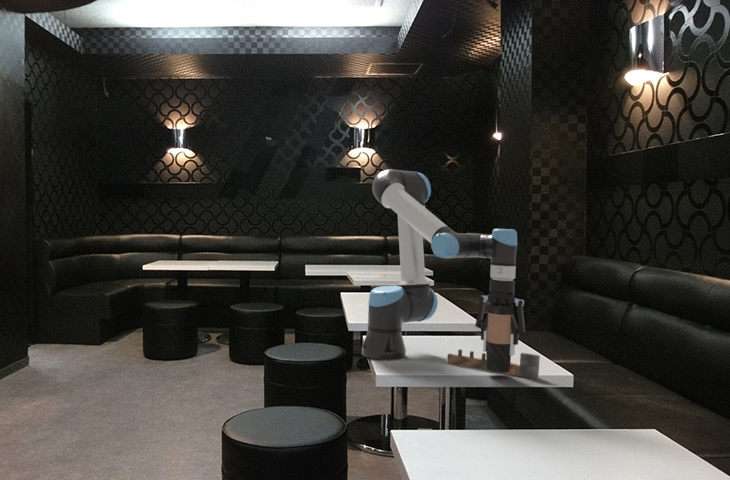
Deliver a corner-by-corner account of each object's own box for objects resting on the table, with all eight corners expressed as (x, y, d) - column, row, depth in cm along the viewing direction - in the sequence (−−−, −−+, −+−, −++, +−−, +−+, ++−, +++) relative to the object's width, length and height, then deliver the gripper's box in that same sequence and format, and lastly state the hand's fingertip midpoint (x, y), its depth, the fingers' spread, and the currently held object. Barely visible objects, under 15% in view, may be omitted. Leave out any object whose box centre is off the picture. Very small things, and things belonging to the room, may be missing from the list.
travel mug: (510, 373, 181) (514, 307, 180) (485, 371, 183) (488, 305, 182) (510, 367, 189) (513, 304, 188) (485, 365, 190) (488, 302, 189)
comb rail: (446, 363, 199) (448, 342, 199) (449, 362, 201) (450, 341, 200) (537, 378, 185) (538, 356, 184) (538, 377, 186) (539, 355, 186)
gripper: (466, 277, 186) (462, 350, 187) (533, 283, 176) (529, 360, 177) (474, 275, 193) (471, 345, 194) (539, 281, 183) (535, 355, 184)
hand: (498, 352), depth 185 cm, fingers closed on travel mug, 8 cm apart
